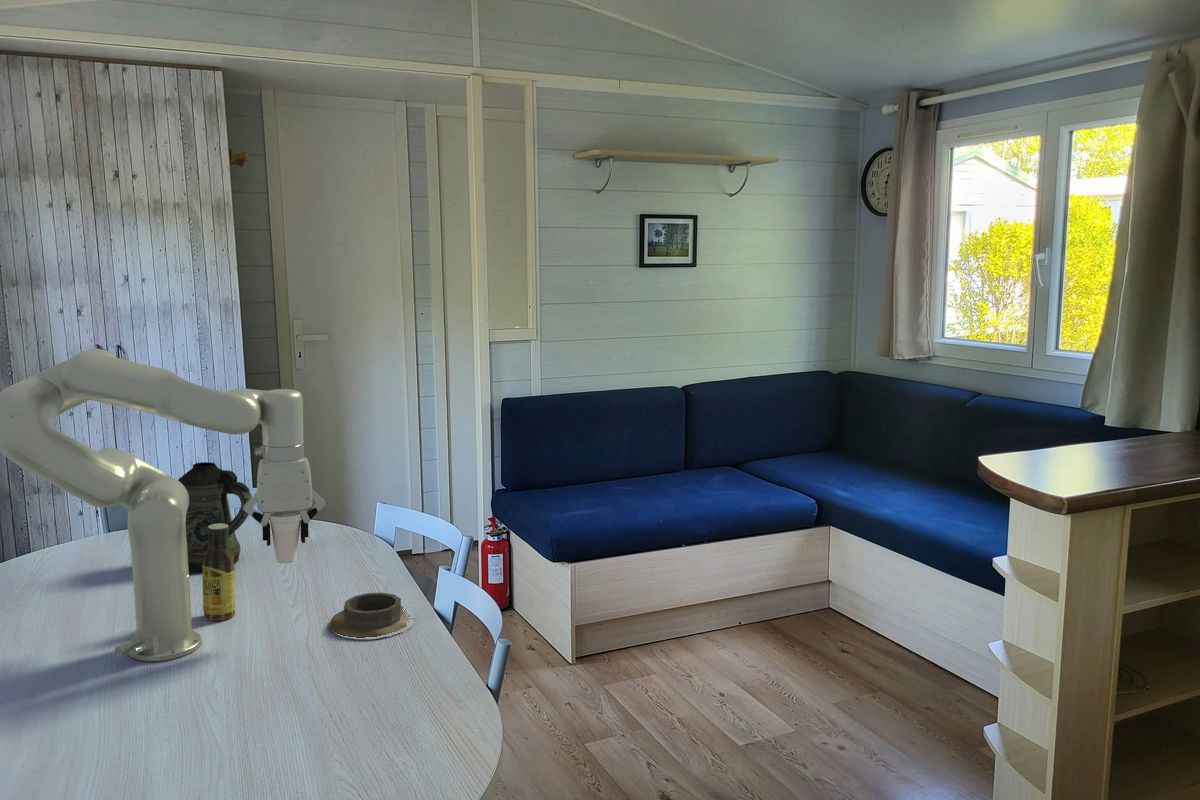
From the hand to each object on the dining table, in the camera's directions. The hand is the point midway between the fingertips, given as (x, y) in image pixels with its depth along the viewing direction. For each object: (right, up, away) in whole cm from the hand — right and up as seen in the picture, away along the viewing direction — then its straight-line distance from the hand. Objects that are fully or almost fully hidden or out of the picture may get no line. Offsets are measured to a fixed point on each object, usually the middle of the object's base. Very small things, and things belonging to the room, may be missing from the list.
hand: (285, 541), depth 176 cm
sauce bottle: (-17, -18, +11) cm, 27 cm away
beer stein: (-34, -12, +45) cm, 57 cm away
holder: (+15, -18, +9) cm, 25 cm away
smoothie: (0, -4, +1) cm, 4 cm away
